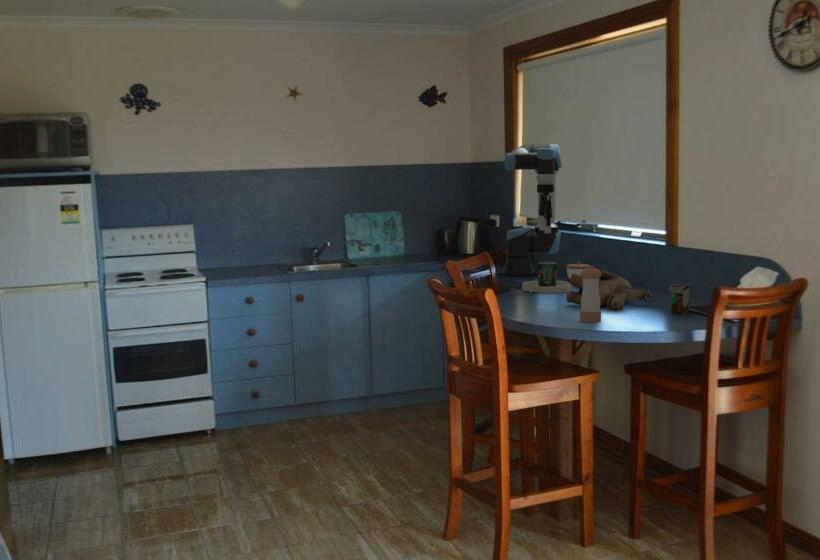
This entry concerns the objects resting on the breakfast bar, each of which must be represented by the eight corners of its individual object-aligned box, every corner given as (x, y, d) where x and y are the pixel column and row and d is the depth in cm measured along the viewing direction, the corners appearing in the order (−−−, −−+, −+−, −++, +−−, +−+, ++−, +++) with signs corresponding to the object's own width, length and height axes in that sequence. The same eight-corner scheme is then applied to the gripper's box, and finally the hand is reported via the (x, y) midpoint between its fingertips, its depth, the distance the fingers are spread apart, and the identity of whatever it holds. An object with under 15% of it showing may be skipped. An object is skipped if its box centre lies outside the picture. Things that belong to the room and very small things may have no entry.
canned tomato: (559, 288, 372) (559, 262, 370) (543, 289, 369) (544, 263, 368) (550, 285, 379) (550, 261, 378) (534, 286, 376) (534, 262, 375)
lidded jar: (591, 283, 395) (591, 262, 393) (568, 283, 395) (568, 263, 394) (587, 280, 405) (587, 260, 404) (564, 280, 405) (565, 260, 404)
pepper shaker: (591, 323, 293) (591, 267, 290) (575, 320, 299) (576, 266, 296) (605, 320, 297) (606, 266, 294) (589, 318, 303) (590, 264, 300)
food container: (672, 309, 320) (673, 282, 318) (689, 310, 316) (690, 283, 315) (664, 314, 309) (665, 286, 308) (681, 315, 306) (682, 287, 305)
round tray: (519, 286, 384) (519, 280, 384) (566, 286, 385) (566, 280, 384) (526, 293, 364) (526, 287, 363) (575, 292, 364) (575, 286, 363)
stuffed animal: (565, 269, 326) (624, 282, 310) (604, 268, 350) (661, 281, 334) (560, 302, 328) (618, 317, 312) (599, 299, 352) (655, 313, 336)
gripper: (532, 182, 387) (532, 229, 390) (541, 185, 362) (541, 234, 366) (549, 182, 387) (548, 228, 390) (559, 184, 362) (558, 234, 366)
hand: (545, 231), depth 378 cm, fingers open, 13 cm apart
